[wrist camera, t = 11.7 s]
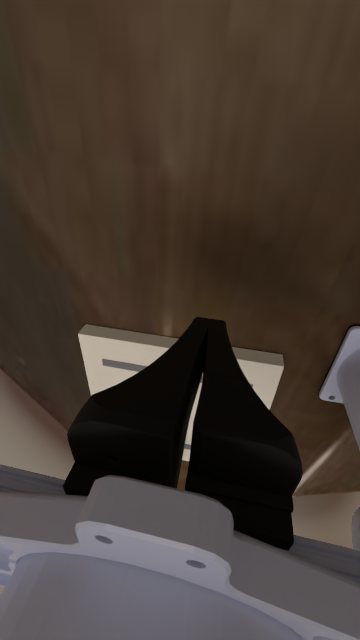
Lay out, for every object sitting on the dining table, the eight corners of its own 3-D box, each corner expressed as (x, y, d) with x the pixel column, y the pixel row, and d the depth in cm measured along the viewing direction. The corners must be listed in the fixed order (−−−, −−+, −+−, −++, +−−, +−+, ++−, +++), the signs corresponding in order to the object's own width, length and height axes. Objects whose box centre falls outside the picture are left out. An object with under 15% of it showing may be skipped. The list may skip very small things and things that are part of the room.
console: (282, 354, 24) (284, 367, 23) (248, 461, 34) (248, 475, 33) (85, 324, 27) (77, 334, 26) (105, 431, 37) (100, 443, 35)
